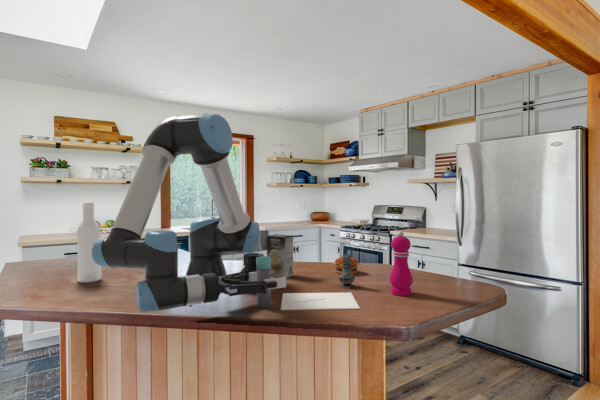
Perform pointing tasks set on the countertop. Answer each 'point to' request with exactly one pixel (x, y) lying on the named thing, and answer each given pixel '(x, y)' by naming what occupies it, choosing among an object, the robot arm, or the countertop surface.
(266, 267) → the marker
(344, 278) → the chess piece
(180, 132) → the robot arm
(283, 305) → the paper
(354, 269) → the hamburger
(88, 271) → the bottle
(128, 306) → the countertop surface
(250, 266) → the ink bottle
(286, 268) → the coffee box
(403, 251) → the pepper mill
